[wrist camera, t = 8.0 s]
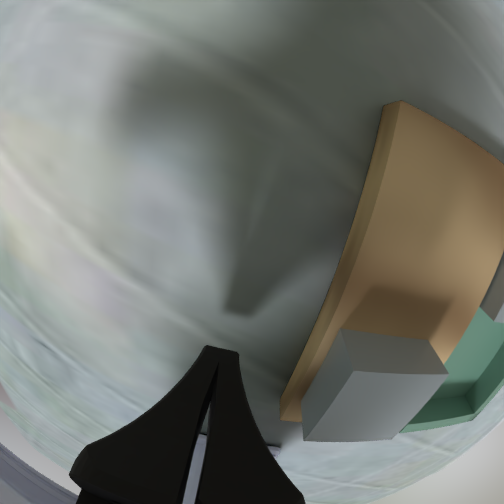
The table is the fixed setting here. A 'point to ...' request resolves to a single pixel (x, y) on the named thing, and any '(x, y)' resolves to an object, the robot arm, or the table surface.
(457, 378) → the tray
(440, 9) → the table surface
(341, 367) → the tile left
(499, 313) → the tile right
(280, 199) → the table surface
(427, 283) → the board
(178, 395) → the robot arm
